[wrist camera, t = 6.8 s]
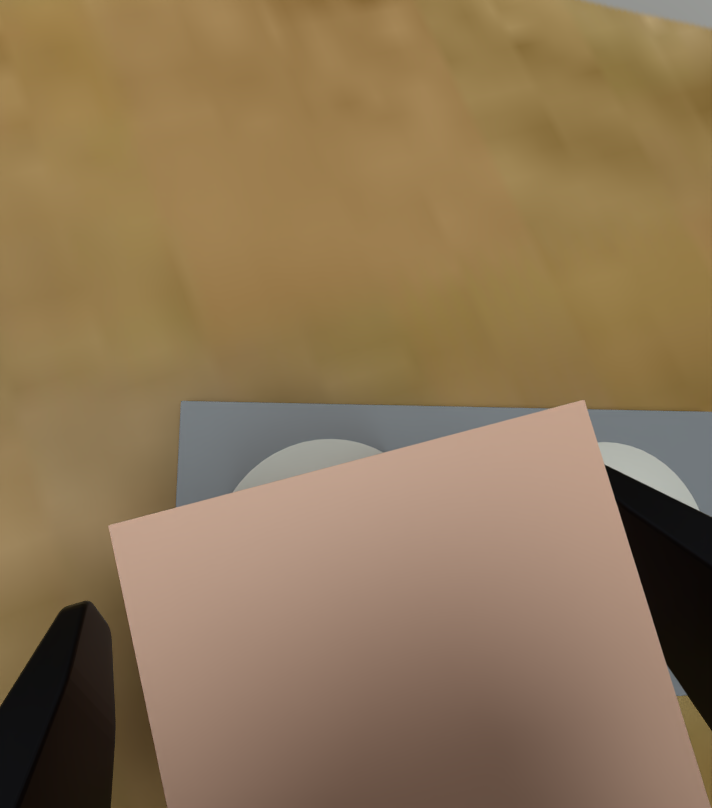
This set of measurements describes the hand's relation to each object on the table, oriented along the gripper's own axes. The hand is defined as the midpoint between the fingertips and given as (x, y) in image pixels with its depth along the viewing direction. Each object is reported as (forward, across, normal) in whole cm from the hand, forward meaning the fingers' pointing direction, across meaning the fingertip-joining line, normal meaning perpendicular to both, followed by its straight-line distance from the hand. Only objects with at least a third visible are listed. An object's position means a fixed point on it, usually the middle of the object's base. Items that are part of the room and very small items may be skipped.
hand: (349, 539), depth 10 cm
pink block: (+5, 0, +7) cm, 8 cm away
